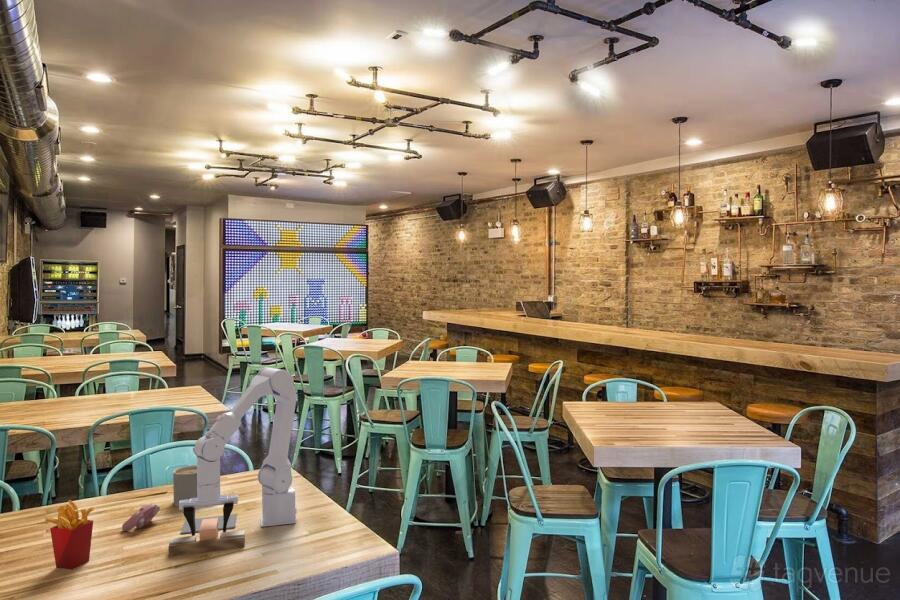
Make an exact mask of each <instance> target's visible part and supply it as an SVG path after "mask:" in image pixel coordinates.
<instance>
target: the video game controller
mask: <svg viewBox="0 0 900 600" xmlns="http://www.w3.org/2000/svg"><path fill="white" fill-rule="evenodd" d="M160 508H161V507H160V506H159V505H157V504H154V503H152V502H151V503H150V504H146V505H143V506H141V507H140V508H139V509H138V510H136V511H135V512H134V513H133V514H132V515H131V516H130V517H129V518H128V519H126V521H124V522H123V524H122V526H121V530H122V531H123V532H129V531H131V530H132V529H134V528H135V527H136V528H137V529H140V528H142V527H143V526H144V525H148V524H150V522H151V521H152V520H153V519H154V518H155V517H156V516H157V514H159V511H160V510H161V509H160Z"/></svg>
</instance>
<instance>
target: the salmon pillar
mask: <svg viewBox="0 0 900 600" xmlns="http://www.w3.org/2000/svg"><path fill="white" fill-rule="evenodd" d="M198 533H199V541H204V540H213V539H219V530H218V518H211V519H202V523H201V526H200V530H199V532H198Z"/></svg>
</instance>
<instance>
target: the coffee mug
mask: <svg viewBox="0 0 900 600" xmlns="http://www.w3.org/2000/svg"><path fill="white" fill-rule="evenodd" d="M172 475H173V476H172V477H173V479H172V480H173V485H172V486H173V489H172V490H173V505H174V506H176V507H179V501H180V500H186V499H191V498H197V464H193V465H186V466H181V467H177V468H176V469H174V470H173V474H172Z"/></svg>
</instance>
